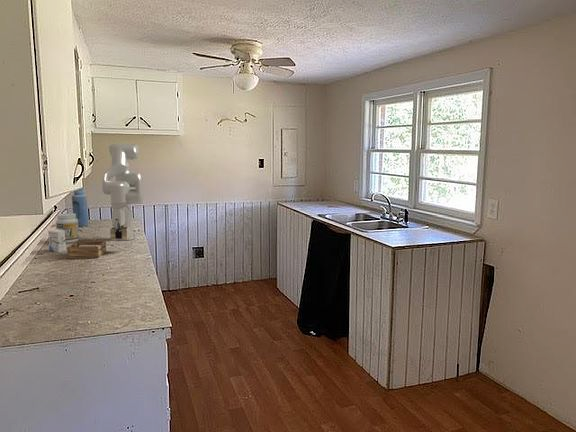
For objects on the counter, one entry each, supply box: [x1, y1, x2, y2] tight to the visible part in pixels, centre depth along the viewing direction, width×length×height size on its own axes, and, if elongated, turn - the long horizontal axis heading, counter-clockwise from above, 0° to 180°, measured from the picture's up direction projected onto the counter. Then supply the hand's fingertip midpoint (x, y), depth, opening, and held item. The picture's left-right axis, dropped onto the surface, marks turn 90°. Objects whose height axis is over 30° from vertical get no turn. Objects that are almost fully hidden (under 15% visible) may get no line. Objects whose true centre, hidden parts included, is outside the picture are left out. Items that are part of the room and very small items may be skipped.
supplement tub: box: [55, 212, 80, 244], centre depth 274 cm, size 12×12×17 cm
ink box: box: [47, 228, 67, 253], centre depth 250 cm, size 9×5×12 cm, turn 62°
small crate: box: [109, 226, 130, 241], centre depth 248 cm, size 6×9×6 cm, turn 97°
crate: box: [66, 240, 107, 260], centre depth 241 cm, size 14×16×6 cm
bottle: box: [71, 186, 89, 228], centre depth 325 cm, size 10×10×30 cm
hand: (120, 236), depth 249 cm, fingers closed on small crate, 6 cm apart
